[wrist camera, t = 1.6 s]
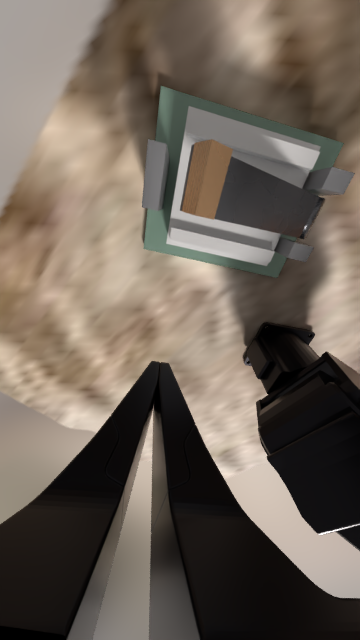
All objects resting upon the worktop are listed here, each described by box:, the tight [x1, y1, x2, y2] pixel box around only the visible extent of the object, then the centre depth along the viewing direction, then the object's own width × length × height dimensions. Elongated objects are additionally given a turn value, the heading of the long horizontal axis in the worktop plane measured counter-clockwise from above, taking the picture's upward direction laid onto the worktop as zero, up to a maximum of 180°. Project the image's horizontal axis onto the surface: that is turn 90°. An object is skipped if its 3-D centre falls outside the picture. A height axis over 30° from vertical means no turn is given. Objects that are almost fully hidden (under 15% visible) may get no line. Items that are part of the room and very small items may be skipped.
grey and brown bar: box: [180, 139, 325, 239], centre depth 10 cm, size 10×2×2 cm, turn 78°
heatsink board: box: [142, 86, 355, 278], centre depth 14 cm, size 13×10×5 cm
